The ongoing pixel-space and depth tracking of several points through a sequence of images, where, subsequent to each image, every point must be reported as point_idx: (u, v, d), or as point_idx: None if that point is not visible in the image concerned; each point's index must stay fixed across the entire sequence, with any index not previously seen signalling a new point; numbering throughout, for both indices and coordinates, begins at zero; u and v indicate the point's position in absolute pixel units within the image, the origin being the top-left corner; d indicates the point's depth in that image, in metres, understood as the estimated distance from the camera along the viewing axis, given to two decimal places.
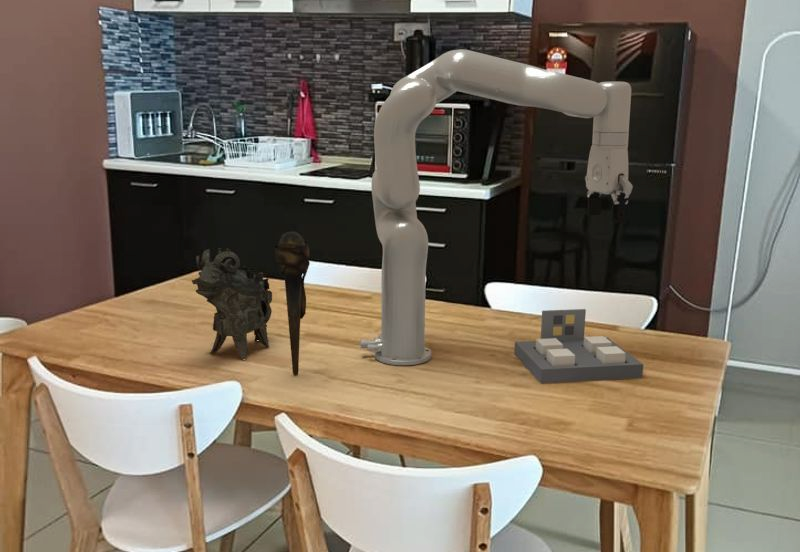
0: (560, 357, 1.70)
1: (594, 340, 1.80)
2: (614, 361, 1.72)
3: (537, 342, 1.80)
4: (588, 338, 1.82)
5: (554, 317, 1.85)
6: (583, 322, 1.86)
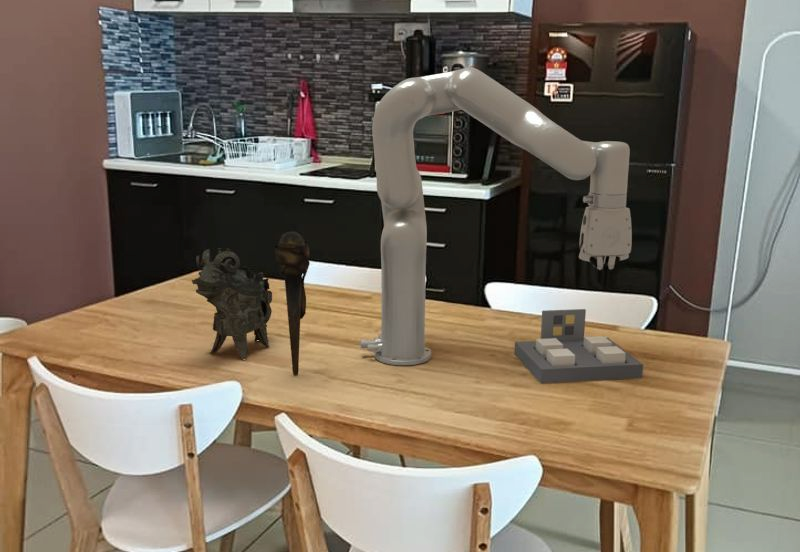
0: (560, 357, 1.70)
1: (594, 340, 1.80)
2: (614, 361, 1.72)
3: (537, 342, 1.80)
4: (588, 338, 1.82)
5: (554, 317, 1.85)
6: (583, 322, 1.86)
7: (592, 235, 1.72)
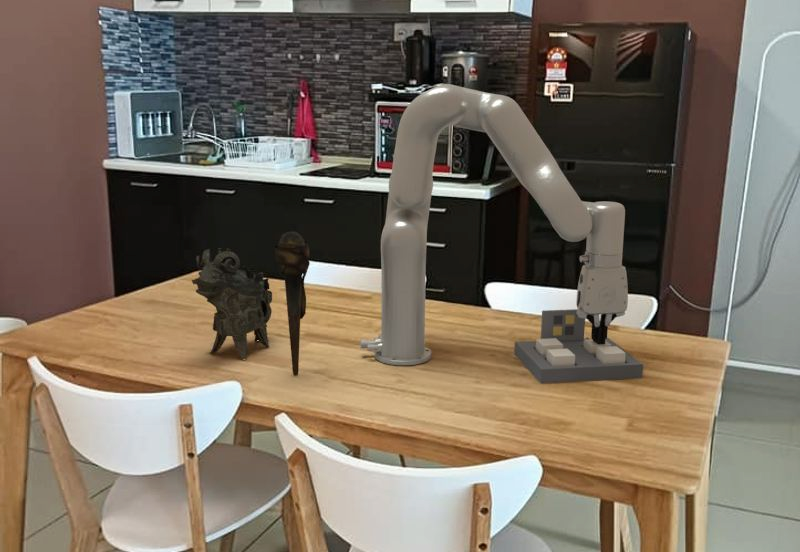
0: (560, 357, 1.70)
1: (594, 343, 1.80)
2: (614, 361, 1.72)
3: (537, 342, 1.80)
4: (588, 341, 1.82)
5: (554, 317, 1.85)
6: (583, 322, 1.86)
7: (589, 294, 1.75)
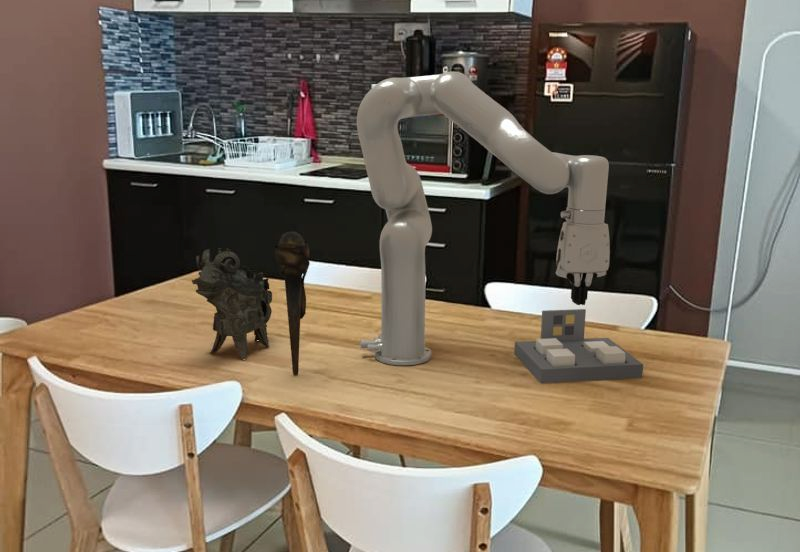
0: (560, 357, 1.70)
1: (594, 345, 1.81)
2: (614, 361, 1.72)
3: (537, 342, 1.80)
4: (588, 343, 1.82)
5: (554, 317, 1.85)
6: (583, 322, 1.86)
7: (569, 251, 1.68)
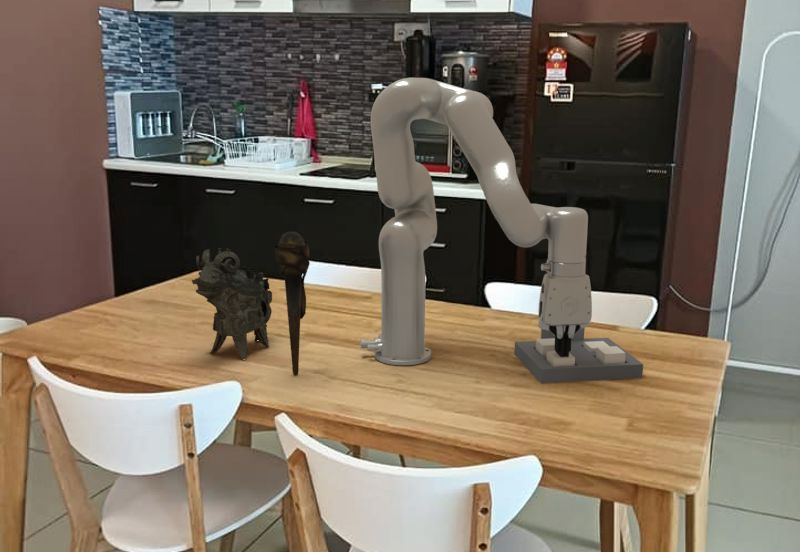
0: (559, 359, 1.70)
1: (594, 345, 1.81)
2: (614, 361, 1.72)
3: (537, 342, 1.80)
4: (588, 343, 1.82)
5: None
6: None
7: (550, 304, 1.66)
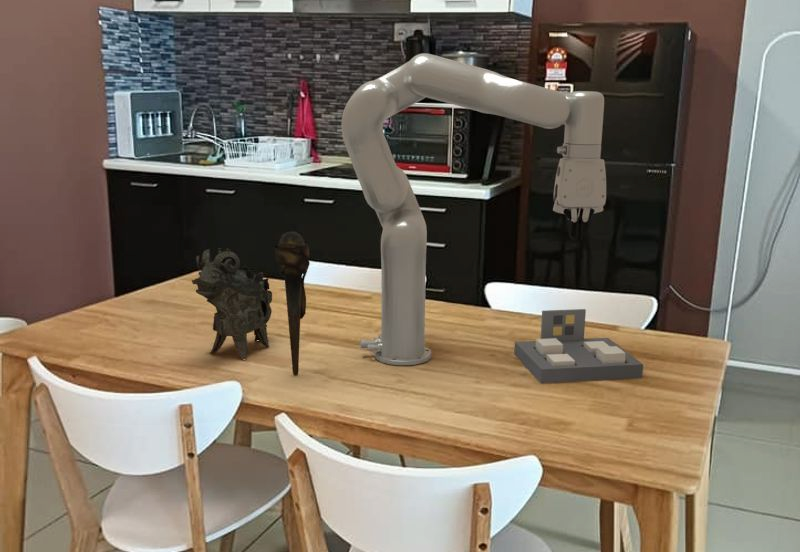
0: (559, 362, 1.70)
1: (594, 345, 1.81)
2: (614, 361, 1.72)
3: (537, 342, 1.80)
4: (588, 343, 1.82)
5: (554, 317, 1.85)
6: (583, 322, 1.86)
7: (566, 186, 1.70)
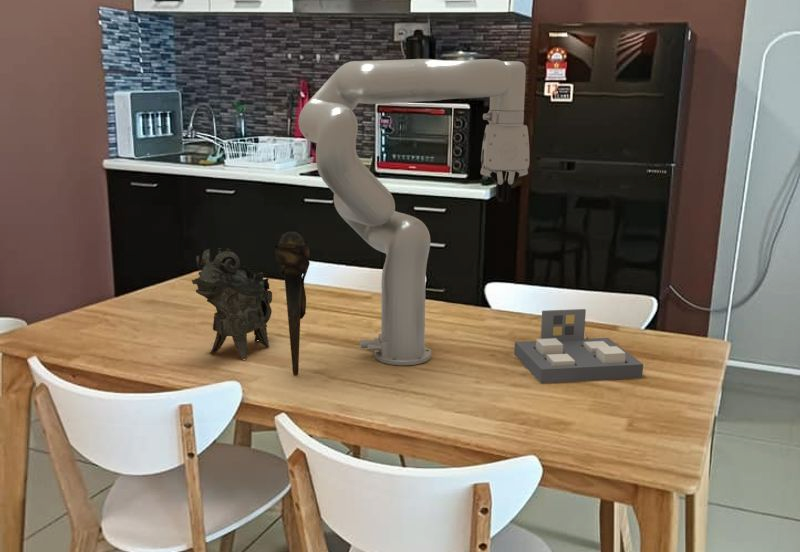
0: (559, 362, 1.70)
1: (594, 345, 1.81)
2: (614, 361, 1.72)
3: (537, 342, 1.80)
4: (588, 343, 1.82)
5: (554, 317, 1.85)
6: (583, 322, 1.86)
7: (491, 150, 1.82)
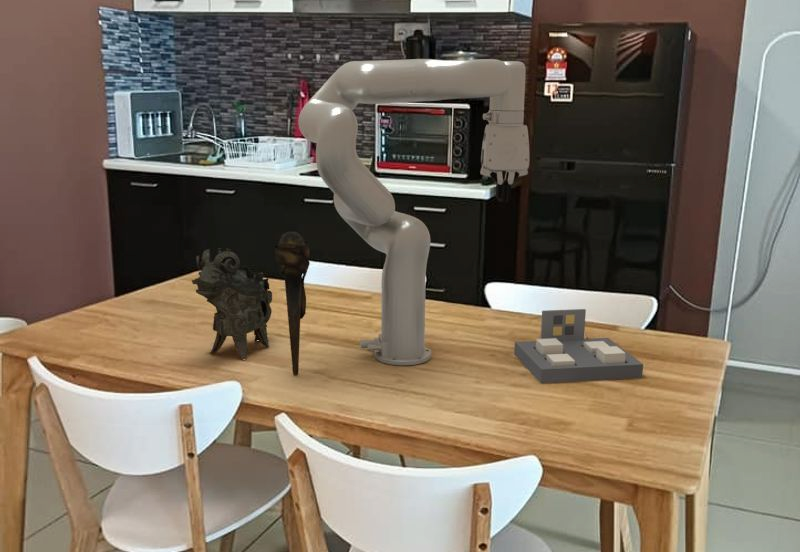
0: (559, 362, 1.70)
1: (594, 345, 1.81)
2: (614, 361, 1.72)
3: (537, 342, 1.80)
4: (588, 343, 1.82)
5: (554, 317, 1.85)
6: (583, 322, 1.86)
7: (491, 150, 1.82)
